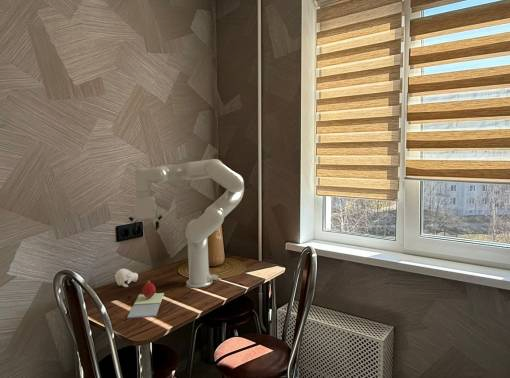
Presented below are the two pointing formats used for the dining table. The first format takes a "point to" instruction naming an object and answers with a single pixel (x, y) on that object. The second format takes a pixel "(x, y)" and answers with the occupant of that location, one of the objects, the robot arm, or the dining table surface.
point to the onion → (148, 290)
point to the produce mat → (149, 299)
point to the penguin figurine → (125, 277)
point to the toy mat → (144, 311)
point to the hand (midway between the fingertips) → (146, 229)
